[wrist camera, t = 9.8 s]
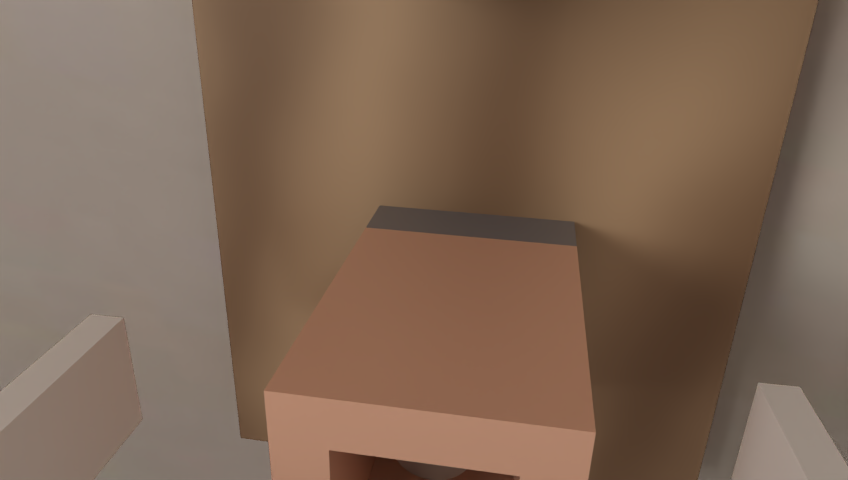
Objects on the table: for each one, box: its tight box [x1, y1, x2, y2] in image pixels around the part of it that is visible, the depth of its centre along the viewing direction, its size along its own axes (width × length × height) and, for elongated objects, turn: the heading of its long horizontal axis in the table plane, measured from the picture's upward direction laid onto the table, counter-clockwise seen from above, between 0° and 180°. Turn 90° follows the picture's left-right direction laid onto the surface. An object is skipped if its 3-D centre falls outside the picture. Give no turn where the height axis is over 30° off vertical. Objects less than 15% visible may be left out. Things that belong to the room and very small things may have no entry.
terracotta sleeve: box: [264, 205, 596, 480], centre depth 15 cm, size 5×5×8 cm
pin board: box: [192, 0, 819, 480], centre depth 14 cm, size 14×22×8 cm, turn 179°
